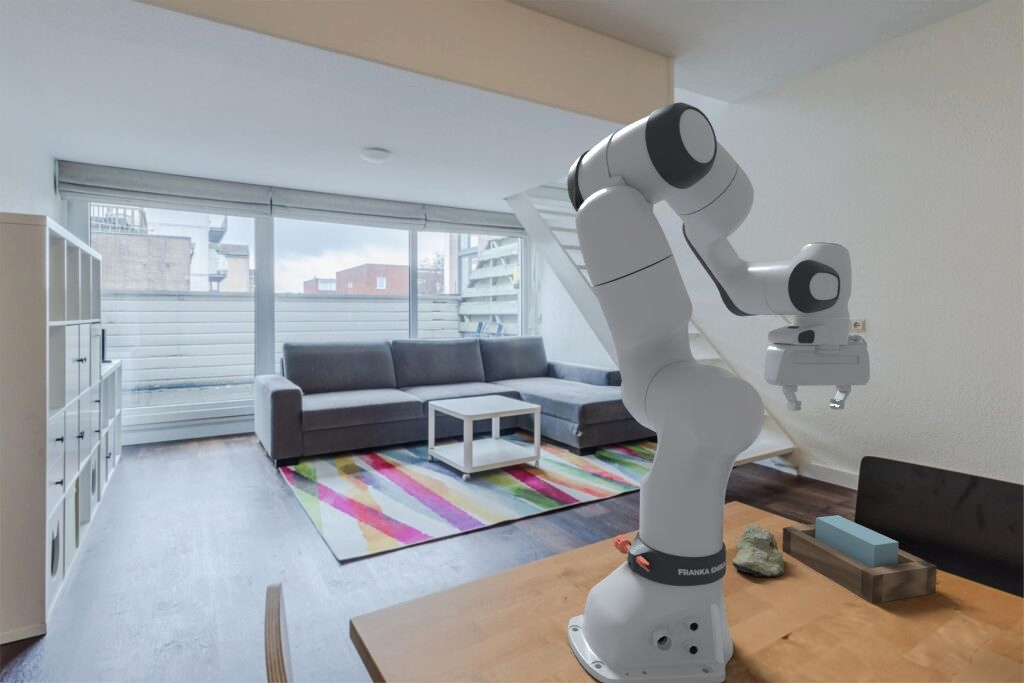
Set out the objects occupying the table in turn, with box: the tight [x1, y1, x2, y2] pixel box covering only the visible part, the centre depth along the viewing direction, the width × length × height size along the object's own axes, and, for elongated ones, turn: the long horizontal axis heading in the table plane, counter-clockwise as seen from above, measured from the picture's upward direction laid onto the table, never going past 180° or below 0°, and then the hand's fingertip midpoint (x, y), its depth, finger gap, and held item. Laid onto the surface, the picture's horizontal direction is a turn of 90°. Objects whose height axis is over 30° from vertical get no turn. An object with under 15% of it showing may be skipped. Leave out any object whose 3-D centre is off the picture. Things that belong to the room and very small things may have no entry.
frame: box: [781, 523, 938, 604], centre depth 94 cm, size 13×19×4 cm
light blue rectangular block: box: [815, 514, 899, 568], centre depth 94 cm, size 12×5×4 cm, turn 14°
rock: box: [732, 523, 785, 578], centre depth 96 cm, size 11×6×10 cm
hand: (815, 409), depth 97 cm, fingers open, 8 cm apart
